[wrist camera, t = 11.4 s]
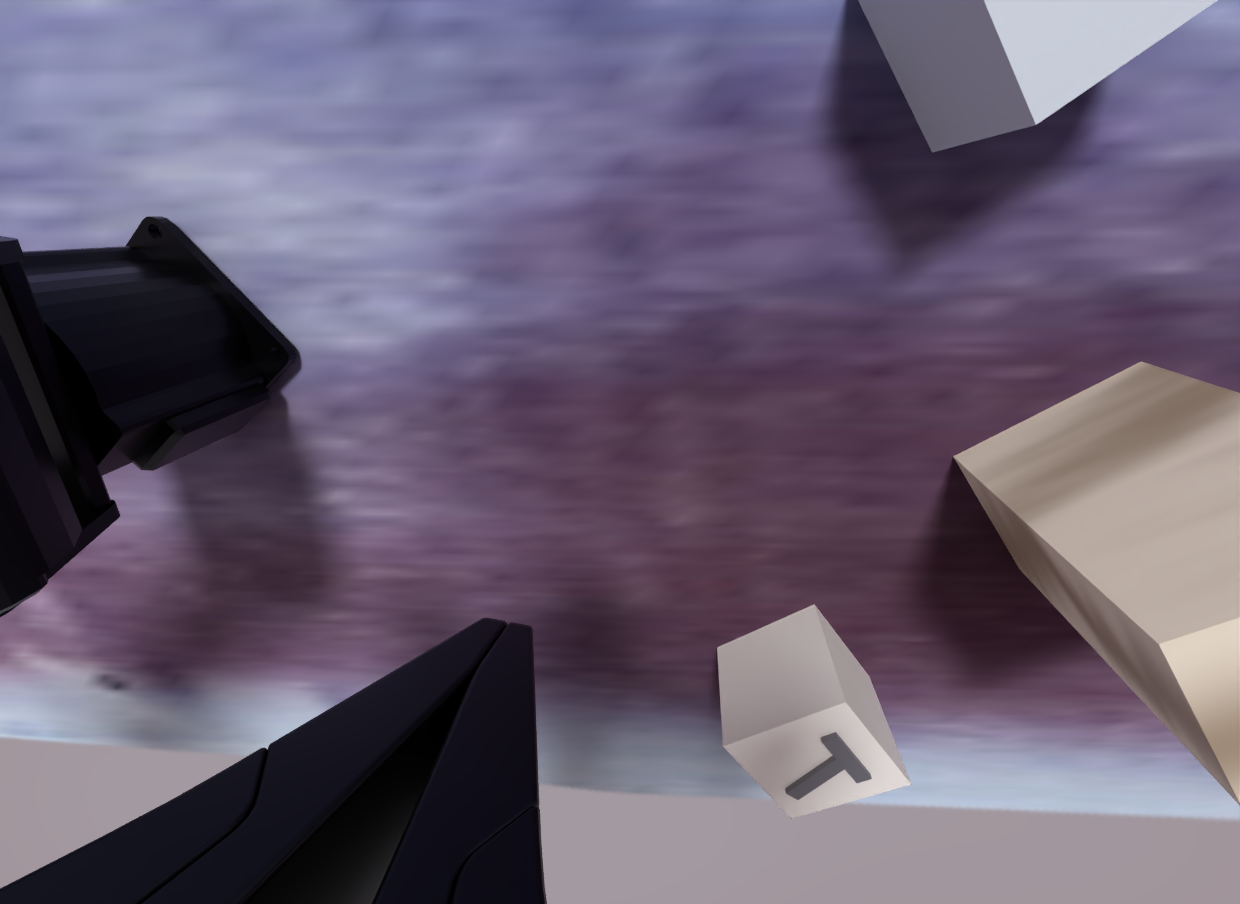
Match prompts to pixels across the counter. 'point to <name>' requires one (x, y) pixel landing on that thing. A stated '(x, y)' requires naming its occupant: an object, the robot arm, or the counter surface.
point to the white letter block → (805, 716)
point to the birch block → (1136, 539)
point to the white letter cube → (1010, 56)
